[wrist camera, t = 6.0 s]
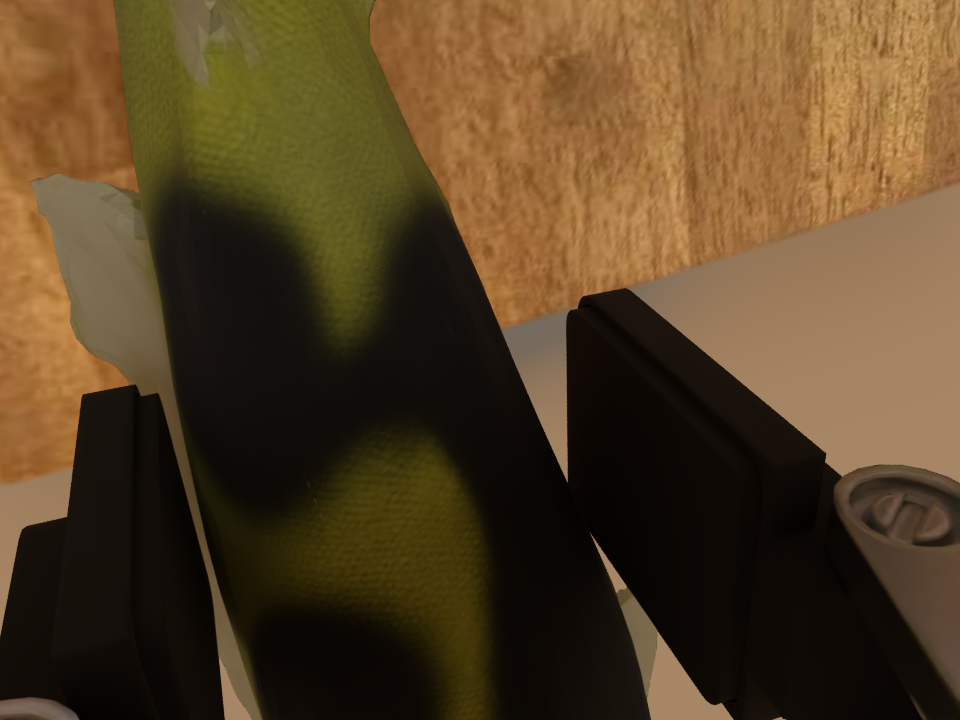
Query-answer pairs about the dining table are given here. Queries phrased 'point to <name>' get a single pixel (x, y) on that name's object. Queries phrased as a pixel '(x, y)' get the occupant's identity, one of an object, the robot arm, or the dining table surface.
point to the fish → (335, 385)
